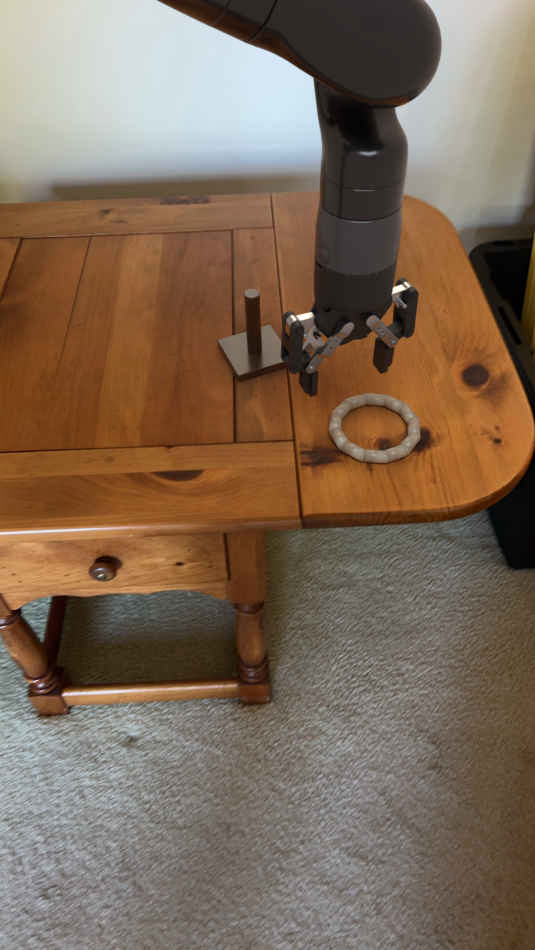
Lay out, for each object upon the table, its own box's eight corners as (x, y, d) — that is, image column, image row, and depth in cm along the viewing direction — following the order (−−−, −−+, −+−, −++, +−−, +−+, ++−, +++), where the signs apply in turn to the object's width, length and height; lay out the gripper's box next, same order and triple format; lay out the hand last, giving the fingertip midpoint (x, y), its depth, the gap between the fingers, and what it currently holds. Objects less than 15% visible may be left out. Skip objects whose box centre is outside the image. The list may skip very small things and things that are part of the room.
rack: (238, 382, 87) (233, 319, 79) (217, 346, 92) (211, 284, 84) (293, 365, 89) (294, 302, 81) (270, 331, 94) (268, 268, 86)
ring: (355, 477, 77) (356, 468, 75) (314, 415, 83) (314, 406, 82) (436, 447, 79) (438, 439, 78) (390, 389, 85) (392, 381, 84)
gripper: (404, 209, 63) (385, 341, 76) (267, 245, 60) (271, 377, 73) (447, 249, 59) (419, 382, 71) (302, 290, 56) (300, 422, 68)
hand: (345, 380), depth 72 cm, fingers open, 8 cm apart
